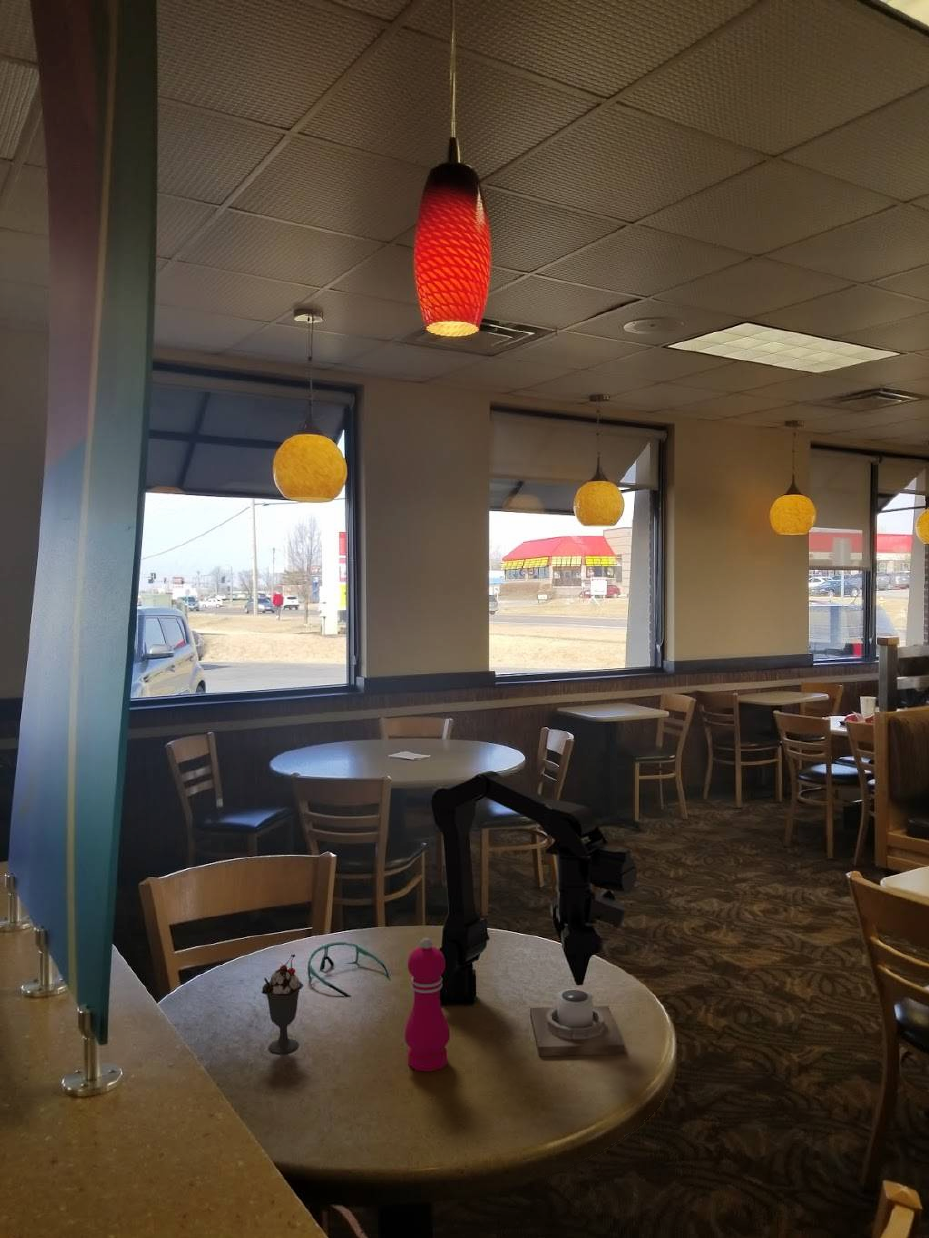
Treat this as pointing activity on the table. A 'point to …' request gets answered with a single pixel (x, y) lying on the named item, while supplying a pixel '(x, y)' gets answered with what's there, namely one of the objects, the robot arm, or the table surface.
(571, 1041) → the mount board
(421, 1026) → the pepper mill
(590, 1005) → the lens
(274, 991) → the sundae
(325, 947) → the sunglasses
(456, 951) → the robot arm
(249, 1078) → the table surface
